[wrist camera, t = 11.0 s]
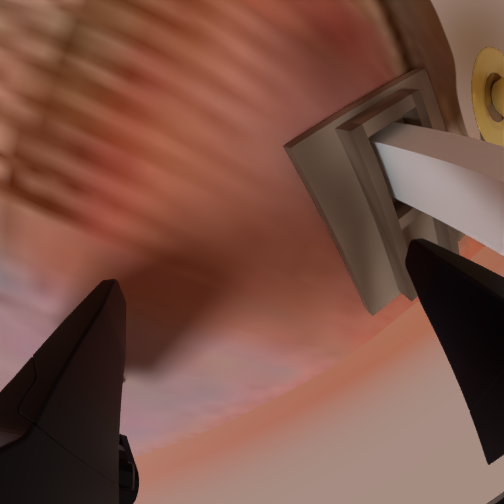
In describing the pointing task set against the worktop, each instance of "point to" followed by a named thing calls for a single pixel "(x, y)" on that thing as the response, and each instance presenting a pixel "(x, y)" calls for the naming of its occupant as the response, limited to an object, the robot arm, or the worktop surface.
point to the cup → (489, 93)
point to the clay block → (446, 178)
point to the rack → (370, 187)
